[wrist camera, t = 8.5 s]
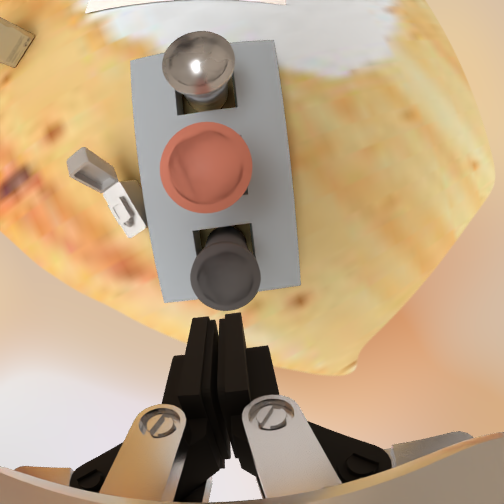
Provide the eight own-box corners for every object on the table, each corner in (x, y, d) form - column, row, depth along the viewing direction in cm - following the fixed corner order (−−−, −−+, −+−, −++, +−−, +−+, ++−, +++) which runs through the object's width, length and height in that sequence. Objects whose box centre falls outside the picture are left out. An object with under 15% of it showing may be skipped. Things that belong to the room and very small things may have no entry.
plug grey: (230, 68, 21) (231, 27, 14) (235, 113, 22) (238, 88, 15) (180, 75, 21) (160, 38, 13) (184, 120, 22) (164, 99, 15)
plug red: (240, 136, 20) (246, 116, 12) (246, 193, 21) (257, 207, 14) (181, 144, 20) (154, 130, 12) (189, 201, 21) (166, 219, 13)
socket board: (267, 57, 22) (273, 40, 18) (290, 269, 27) (300, 285, 24) (143, 74, 22) (130, 60, 18) (172, 284, 27) (164, 303, 23)
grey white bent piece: (159, 218, 25) (131, 238, 18) (143, 228, 25) (111, 252, 18) (120, 151, 23) (79, 145, 16) (105, 162, 23) (60, 161, 16)
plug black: (248, 217, 25) (256, 240, 17) (253, 265, 26) (264, 305, 18) (197, 224, 25) (184, 249, 17) (205, 271, 26) (197, 314, 18)
